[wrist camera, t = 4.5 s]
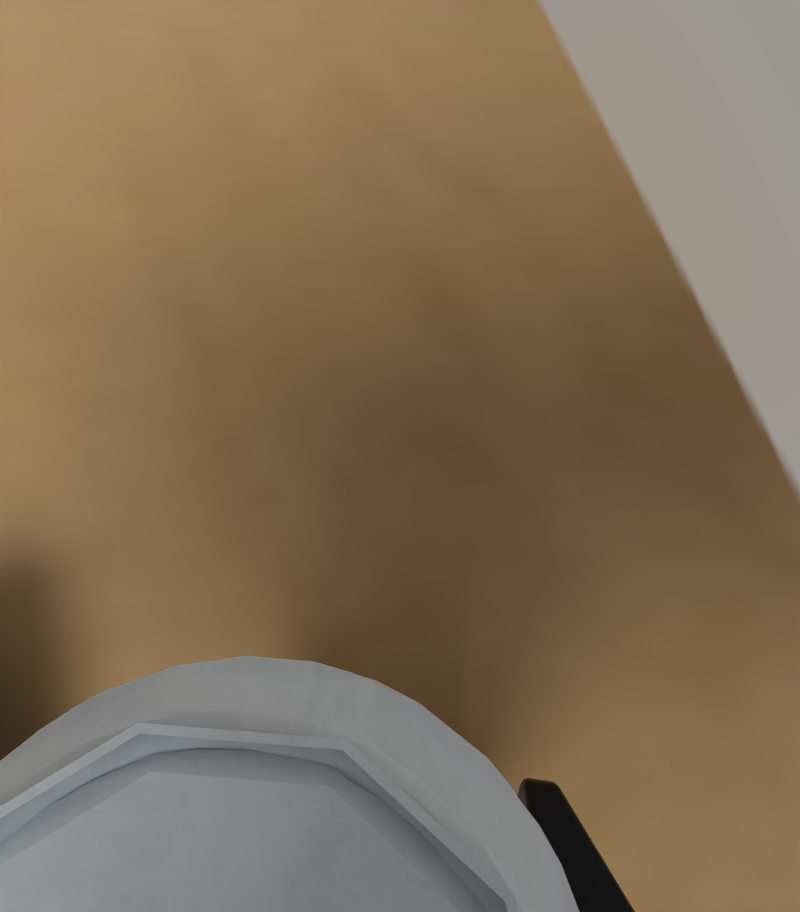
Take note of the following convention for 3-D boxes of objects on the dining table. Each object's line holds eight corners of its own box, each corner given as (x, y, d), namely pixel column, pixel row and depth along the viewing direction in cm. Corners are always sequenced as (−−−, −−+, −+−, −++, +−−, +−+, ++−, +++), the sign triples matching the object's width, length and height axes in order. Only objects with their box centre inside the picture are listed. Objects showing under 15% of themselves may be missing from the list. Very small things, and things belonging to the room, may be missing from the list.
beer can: (203, 735, 16) (-290, 752, 4) (425, 679, 16) (509, 558, 5) (241, 1002, 14) (-381, 2144, 3) (487, 931, 14) (836, 1658, 3)
